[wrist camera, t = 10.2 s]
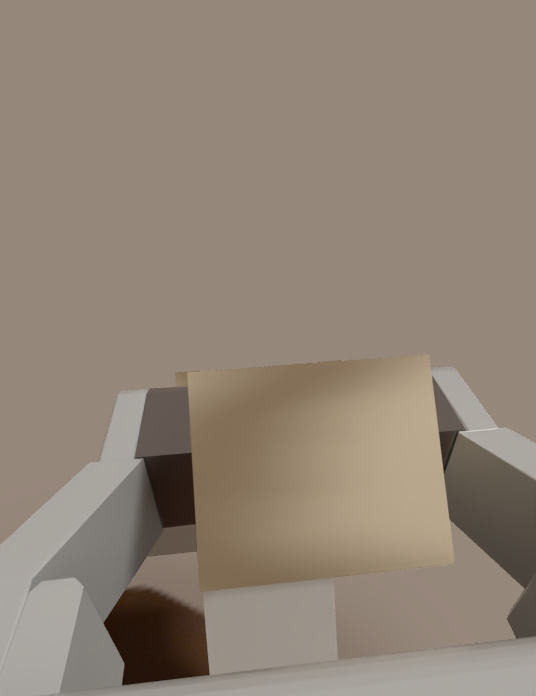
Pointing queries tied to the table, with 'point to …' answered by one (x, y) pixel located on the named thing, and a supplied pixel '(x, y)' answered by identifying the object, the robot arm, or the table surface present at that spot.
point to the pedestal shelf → (261, 618)
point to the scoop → (316, 471)
